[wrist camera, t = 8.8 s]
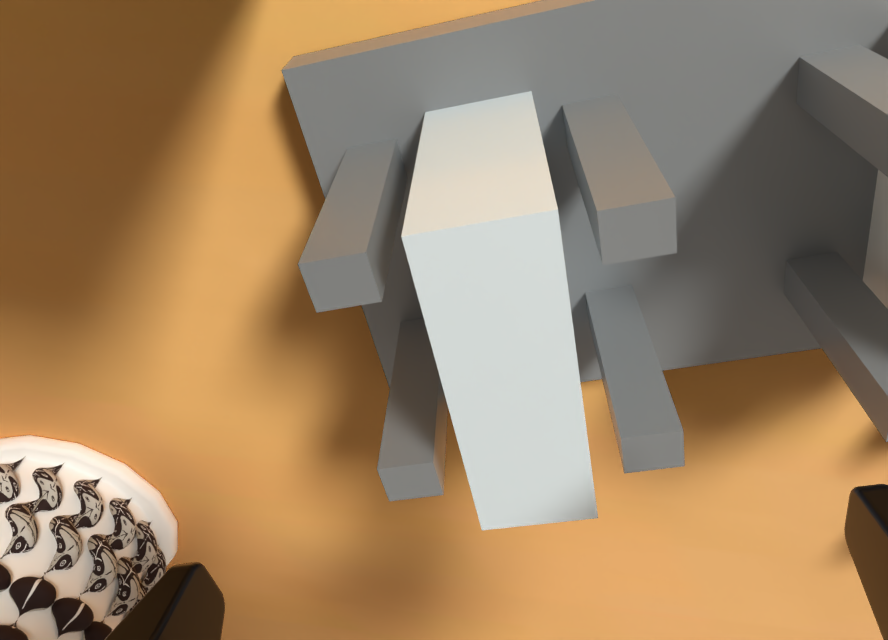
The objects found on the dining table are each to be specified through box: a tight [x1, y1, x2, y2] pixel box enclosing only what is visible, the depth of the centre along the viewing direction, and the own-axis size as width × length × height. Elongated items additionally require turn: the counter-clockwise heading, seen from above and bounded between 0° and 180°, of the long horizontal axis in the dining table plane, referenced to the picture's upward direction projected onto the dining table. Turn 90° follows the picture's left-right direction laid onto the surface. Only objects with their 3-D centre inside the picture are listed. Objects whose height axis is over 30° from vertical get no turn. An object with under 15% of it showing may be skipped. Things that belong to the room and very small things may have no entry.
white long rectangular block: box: [401, 91, 598, 530], centre depth 15 cm, size 7×2×6 cm, turn 12°
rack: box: [282, 0, 888, 501], centre depth 15 cm, size 10×18×7 cm, turn 102°
